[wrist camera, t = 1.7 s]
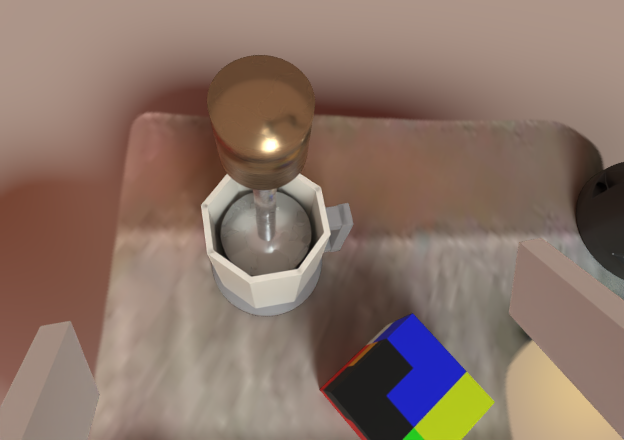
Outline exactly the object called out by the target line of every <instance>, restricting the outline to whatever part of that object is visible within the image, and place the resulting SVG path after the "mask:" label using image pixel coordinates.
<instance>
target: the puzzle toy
mask: <svg viewBox="0 0 624 440" xmlns="http://www.w3.org/2000/svg"><path fill="white" fill-rule="evenodd" d="M320 391H321V392H322V393H323V394H324V396H325V397H326V398H327V399H328V400H329V401H330V403H331V404H332V405H333V406H334V407H335V409H336V410H337V411H338V412H339V413H340V415H341V416H342V417H343V418H344V419H345V421H346V422H347V423H348V424H349V425H350V426H351V428H352V429H353V430H354V431H355V432H356V434H357V435H358V436H359V437H360V438H361V440H461V439H462V438H463V437H464V436H465V435H466V434H467V433H468V432H469V430H470V429H471V428H472V427H473V426H474V425H475V424H476V423H477V422H478V420H479V419H480V418H481V417H482V416H483V415H484V414H485V413H486V412H487V410H488V409H489V408H490V407H491V406H492V405H493V404H494V403H495V402H494V401H493V400H492V399H491V398H490V396H489V395H488V394H487V393H486V392H485V391H484V390H483V389H482V388H481V387H480V386H479V385H478V383H477V382H476V381H475V380H474V379H473V378H472V377H471V376H470V375H469V374H468V373H467V372H466V370H465V369H464V368H463V367H462V366H461V365H460V364H459V363H458V362H457V361H456V360H455V359H454V357H453V356H452V355H451V354H450V353H449V352H448V351H447V350H446V349H445V348H444V347H443V345H442V344H441V343H440V342H439V341H438V340H437V339H436V338H435V337H434V336H433V335H432V334H431V332H430V331H429V330H428V329H427V328H426V327H425V326H424V325H423V324H422V323H421V322H420V321H419V319H418V318H417V317H416V316H415V315H414V314H413V313H412V314H410V315H408V316H405V317H403V318H401V319H399V320H397V321H395V322H392V323H390V324H388V325H387V326H385V327H384V328H383V329H382V330H381V331H380V332H379V333H378V334H377V335H376V336H375V337H374V338H373V339H372V340H371V341H370V342H369V343H368V344H367V345H366V346H365V347H364V348H362V349H361V350H360V351H359V352H358V353H357V354H356V355H355V356H354V357H353V358H352V359H351V360H350V361H349V362H348V363H347V364H346V365H345V366H344V367H343V368H342V369H340V370H339V371H338V372H337V373H336V374H335V375H334V376H333V377H332V378H331V379H330V380H329V381H328V382H327V383H326V384H325V385H324V386H323V387H322V388H321V389H320Z"/></svg>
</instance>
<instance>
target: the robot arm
mask: <svg viewBox="0 0 624 440" xmlns="http://www.w3.org/2000/svg"><path fill="white" fill-rule="evenodd" d="M576 216H577V223H578V228H579V231H580V234H581V237H582V239H583V241H584V243H585V245H586V246H587V248H588V250H589V251H590V252H591V254H592V255H593V256H594V258H595V259H596V260H597V261H598V262H599V263H600V264H601V265H602V266H603V267H605V268H606V269H607V270H608V271H610V272H611V273H613V274H614V275H616V276H618V277H619V278H621V279H623V280H624V162H622V163H618V164H616V165H613V166H611V167H608V168H606V169H605V170H603V171H602V172H600V173H598V174H597V175H595V176H594V177H592V178H591V179H590V180H589V181H588V182H587V183H586V184H585V186H584V187H583V189H582V191H581V193H580V195H579V198H578V202H577V209H576ZM509 314H510V315H511V316H512V318H513V319H514V320H515V321H516V322H517V323H518V324H519V325H520V326H521V327H522V329H523V330H524V331H525V332H526V333H527V334H528V335H529V336H530V337H531V338H532V340H533V341H534V342H535V343H536V344H537V345H538V346H539V347H540V348H541V349H542V351H543V352H544V353H545V354H546V355H547V356H548V357H549V358H550V359H551V360H552V361H553V362H554V364H555V365H556V366H557V367H558V368H559V369H560V370H561V371H562V372H563V374H564V375H565V376H566V377H567V378H568V379H569V380H570V381H571V382H572V383H573V384H574V386H575V387H576V388H577V389H578V390H579V391H580V392H581V393H582V394H583V395H584V397H585V398H586V399H587V400H588V401H589V402H590V403H591V404H592V405H593V406H594V408H595V409H596V410H598V412H599V413H600V414H601V415H602V416H603V417H604V419H605V420H606V421H607V422H608V423H609V424H610V425H611V426H612V427H613V428H614V429H615V431H616V432H617V433H618V434H619V435H620V436H621V437H622V438H623V439H624V300H623V299H621V298H620V297H619V296H617V295H616V294H615V293H613V292H612V291H611V290H609V289H608V288H607V287H605V286H604V285H603V284H602V283H600V282H599V281H598V280H596V279H595V278H594V277H592V276H591V275H590V274H588V273H587V272H586V271H584V270H583V269H582V268H581V267H579V266H578V265H577V264H575V263H574V262H573V261H571V260H570V259H569V258H567V257H566V256H565V255H563V254H562V253H561V252H559V251H558V250H557V249H556V248H554V247H553V246H552V245H550V244H549V243H548V242H546V241H545V240H544V239H542V238H539V239H533V240H528V241H522V242H519V245H518V252H517V259H516V266H515V273H514V280H513V287H512V294H511V301H510V308H509ZM99 395H100V394H99V391H98V389H97V386H96V384H95V381H94V379H93V376H92V374H91V371H90V369H89V366H88V364H87V361H86V359H85V356H84V354H83V351H82V349H81V346H80V343H79V341H78V339H77V336H76V333H75V331H74V329H73V326H72V323H71V321H68V322H62V323H57V324H51V325H45V326H40V329H39V331H38V333H37V335H36V336H35V338H34V340H33V343H32V345H31V346H30V349H29V351H28V353H27V355H26V357H25V359H24V361H23V363H22V365H21V367H20V369H19V371H18V373H17V375H16V377H15V379H14V381H13V383H12V385H11V387H10V389H9V391H8V393H7V395H6V397H5V399H4V401H3V403H2V405H1V407H0V440H88V436H89V432H90V428H91V425H92V421H93V417H94V414H95V410H96V406H97V402H98V399H99Z"/></svg>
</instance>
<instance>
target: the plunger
mask: <svg viewBox="0 0 624 440" xmlns="http://www.w3.org/2000/svg"><path fill="white" fill-rule="evenodd" d="M207 107H208V112H209V116H210V120H211V124H212V129H213V133H214V137H215V141H216V145H217V150H218V154H219V158H220V162H221V164H222V166H223V168H224V170H225V171H226V173H227V174H228V175H229V176H230V177H231V178H232V179H233V180H234V181H236V182H237V183H239V184H240V185H242V186H245V187H247V188H250V189H253V193H250V194H247V195H245V196H243V197H242V198H240V199H239V200H237V201H236V202H235V203H234V204H233V205H232V206H231V207H230V209H229V210H228V211H227V213H226V215H225V217H224V220H223V222H222V227H221V241H222V245H223V248H224V251H225V253H226V255H227V257H228V259H229V260H230V261H231V263H232V264H234V265H235V266H237V267H238V268H240V269H241V270H242V271H244V272H245V273H247V274H248V275H250V276H259V275H265V274H271V273H277V272H283V271H289V270H293V269H295V268H296V267H297V266H298V265H299V264H300V263H301V261H302V260H303V259H304V257H305V256H306V254H307V251H308V249H309V245H310V241H311V225H310V222H309V219H308V216H307V214H306V212H305V211H304V209H303V208H302V207H301V205H300V204H299V203H298V202H296V201H295V200H294V199H293V198H291V197H289V196H287V195H285V194H283V193H280V192H276V191H277V188H280V187H282V186H284V185H286V184H288V183H290V182H291V181H292V180H294V179H295V178H296V177H297V176H298V175H299V173H300V172H301V170H302V169H303V167H304V165H305V162H306V159H307V153H308V146H309V140H310V134H311V127H312V121H313V115H314V108H315V97H314V92H313V89H312V86H311V84H310V82H309V80H308V79H307V77H306V76H305V75H304V74H303V73H302V72H301V71H300V70H299V69H298V68H297V67H295V66H294V65H293V64H291V63H289V62H287V61H285V60H283V59H280V58H277V57H273V56H267V55H255V56H254V55H253V56H247V57H243V58H240V59H238V60H235V61H233V62H231V63H230V64H228V65H226V66H225V67H224V68H223V69H222V70H221V71H219V72H218V74H217V75H216V76H215V77H214V79H213V81H212V83H211V85H210V87H209V91H208V95H207Z"/></svg>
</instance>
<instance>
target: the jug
mask: <svg viewBox="0 0 624 440" xmlns="http://www.w3.org/2000/svg"><path fill="white" fill-rule="evenodd" d="M276 192H280V193H283V194H285V195H287V196H289V197H291V198H293V199H294V200H295V201H296V202H298V203H299V204H300V205H301V207H302V208H303V209H304V211H305V212H306V214H307V216H308V219H309V222H310V225H311V241H310V245H309V249H308V251H307V254H306V256H305V257H304V259H303V260H302V261H301V263H300V264H299V265H298V266H297V267H296V268H295V269H293V270H289V271H283V272H277V273H271V274H265V275H259V276H250V275H248V274H247V273H245V272H244V271H242V270H241V269H240V268H238V267H237V266H235V265H234V264H232V263H231V261H230V260H229V259H228V257H227V255H226V253H225V251H224V248H223V245H222V241H221V227H222V222H223V220H224V217H225V215H226V213H227V211H228V210H229V209H230V207H231V206H232V205H233V204H234V203H235V202H236V201H237V200H239V199H240V198H242V197H243V196H245V195H247V194H250V193H253V189H250V188H247V187H245V186H242V185H240V184H239V183H237V182H236V181H234V180H233V179H232V178H231V177H230V176H229V175H228V174H227V175H226V176H225V177H224V178H223V179H222V181H221V182H220V183H219V184H218V185H217V187H216V188H215V189H214V190H213V191H212V193H211V194H210V195H209V196H208V197H207V199H206V200H205V201H204V202H203V203H202V205H201V208H202V216H203V224H204V232H205V240H206V247H207V254H208V256H209V258H210V260H211V262H212V270H213V275H214V278H215V281H216V283H217V285H218V287H219V289H220V291H221V292H222V294H223V295H224V297H225V298H226V299H227V300H228V301H229V302H230V303H231V304H232V305H234V306H235V307H237V308H238V309H240V310H242V311H244V312H246V313H249V314H252V315H257V316H277V315H281V314H284V313H287V312H289V311H291V310H293V309H295V308H297V307H298V306H299V305H301V304H302V303H303V302H304V301H305V300H306V299H307V298H308V297H309V296H310V294H311V293H312V292H313V290H314V288H315V286H316V284H317V282H318V280H319V277H320V273H321V267H322V254H323V252H328V251H330V252H334V251H339V250H340V249H341V247H342V245H343V243H344V241H345V239H346V237H347V235H348V234H349V232H350V230H351V228H352V226H353V220H352V216H351V212H350V207H349V203H346V204H339V205H337V206H333V207H327V208H325V205H324V200H323V195H322V190H321V187H319V186H318V185H316V184H315V183H313V182H312V181H310V180H309V179H307V178H306V177H304V176H303V175H301V174H300V173H299V175H298V176H297V177H296V178H295V179H294V180H292V181H291V182H290V183H288V184H286V185H284V186H282V187H280V188H277V191H276Z"/></svg>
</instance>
